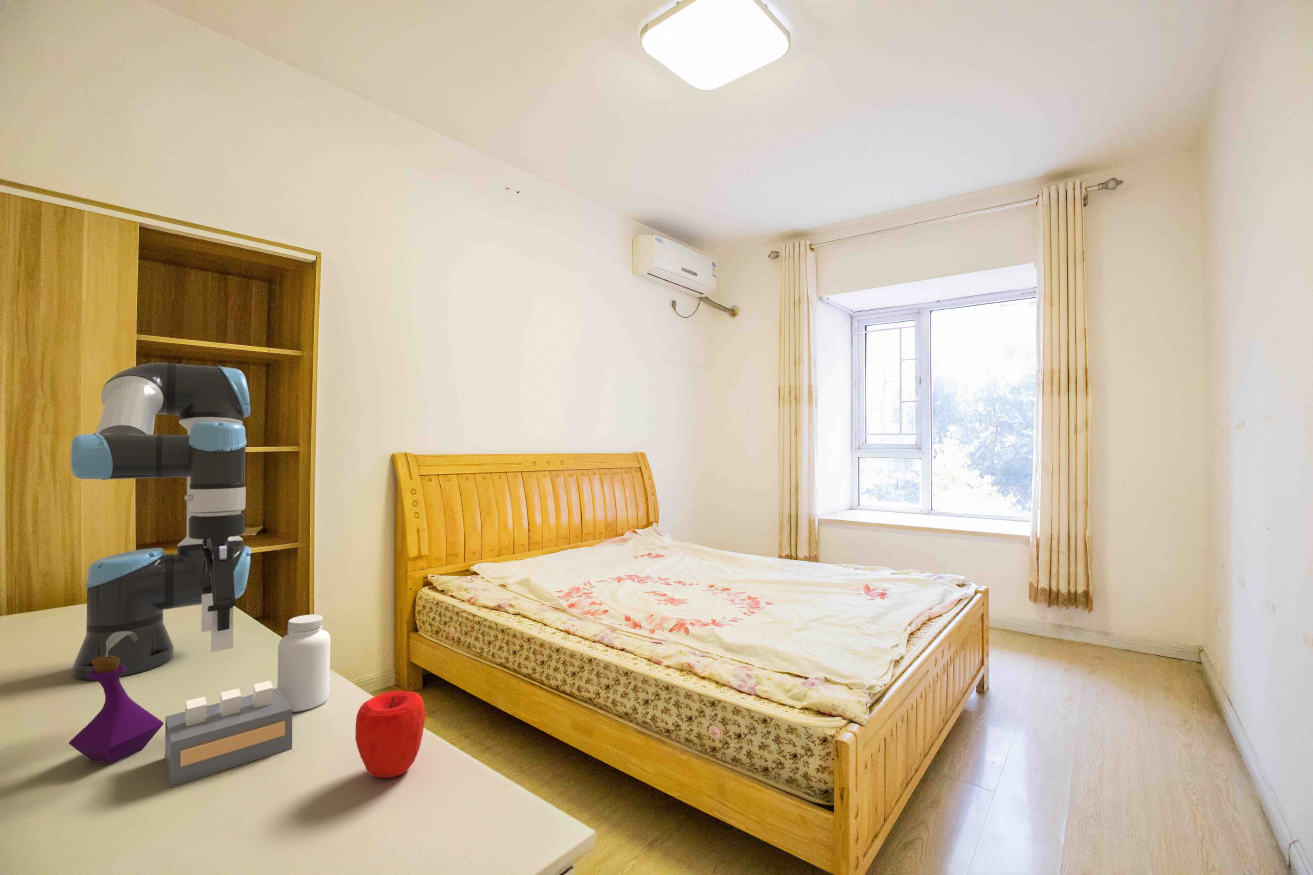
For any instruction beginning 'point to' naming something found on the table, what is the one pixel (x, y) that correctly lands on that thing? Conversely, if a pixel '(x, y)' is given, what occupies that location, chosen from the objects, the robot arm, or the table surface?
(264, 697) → the cream sugar cube
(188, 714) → the paddle left
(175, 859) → the table surface
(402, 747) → the apple
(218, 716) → the breaker panel
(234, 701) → the paddle middle
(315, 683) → the pill bottle
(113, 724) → the perfume bottle
